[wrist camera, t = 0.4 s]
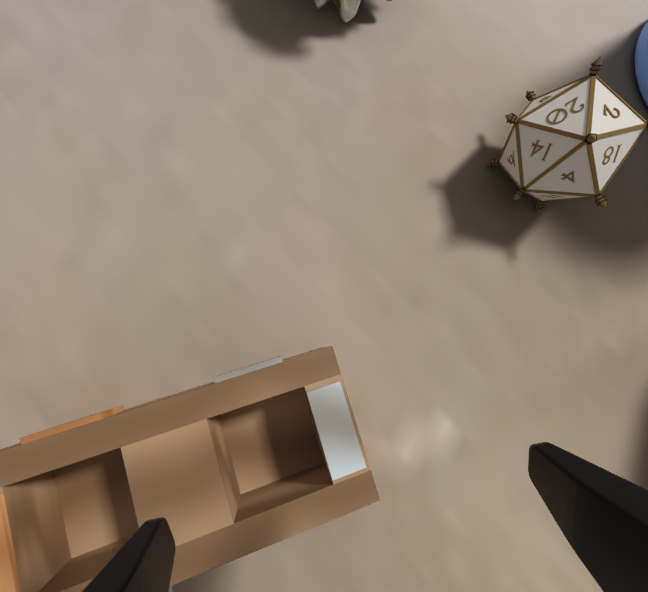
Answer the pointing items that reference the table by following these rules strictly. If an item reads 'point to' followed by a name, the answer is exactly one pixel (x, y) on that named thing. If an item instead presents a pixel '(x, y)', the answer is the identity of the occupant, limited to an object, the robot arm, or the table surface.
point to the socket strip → (185, 475)
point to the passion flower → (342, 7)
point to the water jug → (642, 63)
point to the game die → (570, 141)
